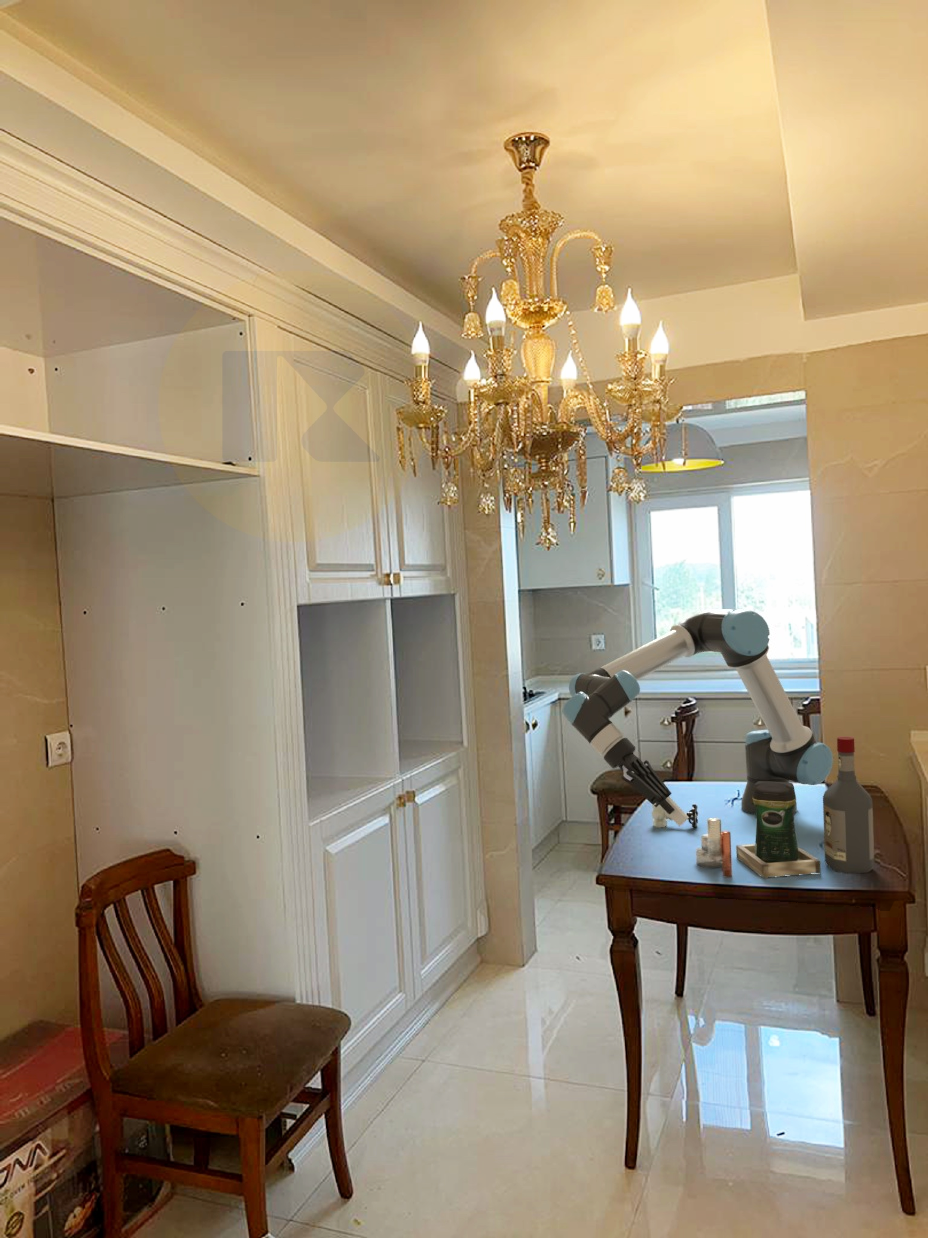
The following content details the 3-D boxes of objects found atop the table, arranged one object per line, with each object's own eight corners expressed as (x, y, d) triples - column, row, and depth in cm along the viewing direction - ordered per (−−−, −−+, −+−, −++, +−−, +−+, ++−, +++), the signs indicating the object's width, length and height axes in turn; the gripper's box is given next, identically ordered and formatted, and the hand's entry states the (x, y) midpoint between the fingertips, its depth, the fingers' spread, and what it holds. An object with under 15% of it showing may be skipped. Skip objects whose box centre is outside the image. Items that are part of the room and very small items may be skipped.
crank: (700, 846, 218) (699, 807, 217) (719, 846, 217) (718, 807, 217) (706, 863, 205) (704, 821, 205) (726, 863, 204) (724, 821, 204)
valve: (650, 829, 247) (695, 831, 243) (649, 805, 247) (694, 807, 242) (654, 822, 253) (698, 825, 249) (653, 799, 253) (697, 801, 248)
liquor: (859, 860, 213) (856, 733, 211) (878, 872, 204) (874, 740, 202) (821, 862, 213) (817, 735, 211) (838, 875, 203) (834, 742, 202)
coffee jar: (800, 857, 213) (798, 779, 212) (796, 867, 206) (793, 787, 205) (758, 853, 218) (755, 777, 217) (752, 863, 211) (749, 784, 210)
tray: (789, 853, 220) (789, 841, 220) (820, 873, 205) (820, 860, 204) (736, 857, 219) (736, 845, 219) (763, 878, 203) (763, 865, 203)
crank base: (720, 858, 219) (718, 817, 219) (742, 876, 206) (741, 832, 205) (692, 860, 219) (690, 819, 218) (712, 878, 205) (711, 835, 205)
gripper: (614, 751, 225) (682, 824, 216) (593, 762, 214) (664, 839, 205) (633, 731, 222) (703, 805, 213) (613, 741, 210) (685, 819, 202)
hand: (684, 822), depth 209 cm, fingers closed
